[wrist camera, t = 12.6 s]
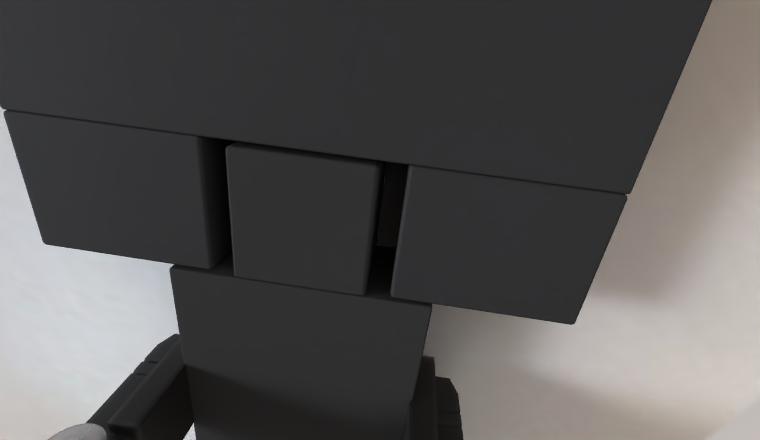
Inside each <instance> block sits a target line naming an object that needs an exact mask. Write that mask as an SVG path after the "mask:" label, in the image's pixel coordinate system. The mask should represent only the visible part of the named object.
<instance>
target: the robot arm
mask: <svg viewBox="0 0 760 440" xmlns="http://www.w3.org/2000/svg"><path fill="white" fill-rule="evenodd" d="M193 423H194V415H193V408H192V402H191V395H190V389H189V383H188V376H187V370H186V364H184V359H183V352H182V346H181V340H180V335H179V334H174V335H172V336H171V337H169V338H168V339H166V340H164V341H163V342H161V343H160V344H158V345H157V346H156V347H155V348H154V349H153V350H152V351H151V353H150V354H149V355H148V356H147V357H146V358H145V360H144V362H141V363H140V365H139V366H138V367H137V368H136V369H135V370H134V373H133V374H130V376H129V377H128V378H127V379H126V380H125V381H124V382H123V383H122V384H121V385H120V386H119V388H118V389H117V390H116V391H115V392H114V393H113V394H112V395H111V396H110V397H109V398H108V400H107V401H106V402H105V403H104V404H103V405H102V406H101V407H100V408H99V409H98V410H97V412H96V413H95V414H94V415H93V416H92V417H91V418H90V419H89V420H88V421H87V422H86V423H85V424H79V425H75V426H72V427H69V428H67V429H65V430H63V431H60V432H59V433H57V434H55V435H54V436H52V437H51V438H49V439H48V440H183V439H184V437H185V436H186V434H187V432H188V431H189V429H190V428H191V426H192V424H193ZM402 440H463V432H462V423H461V415H460V406H459V397H458V393H457V391H456V389H455V388H454V386H453V384H452V382H451V380H450V378H444V377H437V376H435V363H434V358H433V357H428V356H422V359H421V364H420V368H419V373H418V378H417V383H416V387H415V392H414V397H413V400H412V401H410V402H409V407H408V411H407V416H406V421H405V426H404V431H403V436H402Z"/></svg>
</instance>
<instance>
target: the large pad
mask: <svg viewBox="0 0 760 440" xmlns="http://www.w3.org/2000/svg"><path fill="white" fill-rule="evenodd" d="M711 2H712V0H0V106H1V107H2V108H3V109H6V111H4V117H5V120H6V123H7V127H8V130H9V133H10V136H11V140H12V143H13V146H14V149H15V153H16V156H17V159H18V162H19V166H20V169H21V172H22V175H23V179H24V182H25V185H26V188H27V192H28V195H29V198H30V201H31V205H32V208H33V211H34V214H35V217H36V221H37V224H38V227H39V230H40V234H41V237H42V240H43V242H44V243H45V244H47V245H53V246H60V247H66V248H73V249H80V250H86V251H93V252H99V253H106V254H112V255H119V256H125V257H132V258H138V259H145V260H151V261H158V262H164V263H171V264H177V265H184V266H191V267H197V268H204V269H212V268H213V267H214V266H215V265H216V264H217V263H218V262H219V261H220V260H221V259H222V258H223V257H224V256H225V255H226V254H227V253H228V252H229V251H230V250H231V249H232V236H231V222H230V207H229V193H228V179H227V165H226V147H227V146H229V145H231V144H234V143H236V142H238V141H240V142H248V143H255V144H262V145H270V146H277V147H284V148H292V149H299V150H306V151H314V152H321V153H328V154H336V155H343V156H350V157H358V158H365V159H372V160H380V161H387V162H394V163H402V164H408V169H407V175H406V182H405V189H404V196H403V202H402V209H401V216H400V223H399V229H398V236H397V243H396V251H395V259H394V267H393V275H392V283H391V291H390V293H391V296H392V297H394V298H400V299H407V300H413V301H420V302H427V303H433V304H440V305H446V306H453V307H459V308H466V309H472V310H479V311H485V312H492V313H498V314H505V315H511V316H518V317H524V318H531V319H538V320H544V321H551V322H557V323H564V324H570V325H572V324H574V323H575V322H576V319H577V317H578V314H579V312H580V310H581V307H582V305H583V303H584V300H585V298H586V296H587V293H588V291H589V288H590V286H591V284H592V281H593V279H594V277H595V274H596V272H597V270H598V267H599V265H600V262H601V260H602V258H603V255H604V253H605V251H606V248H607V246H608V244H609V241H610V239H611V236H612V234H613V232H614V229H615V227H616V225H617V222H618V220H619V217H620V215H621V213H622V210H623V208H624V206H625V203H626V201H627V195H625V194H630V193H631V191H632V189H633V186H634V184H635V182H636V179H637V177H638V174H639V172H640V170H641V167H642V165H643V163H644V160H645V158H646V156H647V153H648V151H649V149H650V146H651V144H652V141H653V139H654V137H655V134H656V132H657V130H658V127H659V125H660V123H661V120H662V118H663V116H664V113H665V111H666V108H667V106H668V104H669V101H670V99H671V97H672V94H673V92H674V90H675V87H676V85H677V82H678V80H679V78H680V75H681V73H682V71H683V68H684V66H685V64H686V61H687V59H688V57H689V54H690V52H691V49H692V47H693V45H694V42H695V40H696V38H697V35H698V33H699V31H700V28H701V26H702V24H703V21H704V19H705V16H706V14H707V12H708V9H709V7H710V5H711Z"/></svg>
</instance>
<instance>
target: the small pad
mask: <svg viewBox="0 0 760 440" xmlns="http://www.w3.org/2000/svg"><path fill="white" fill-rule="evenodd" d="M386 162H387V161H380V160H372V159H365V158H358V157H350V156H343V155H336V154H328V153H321V152H314V151H306V150H299V149H292V148H284V147H277V146H270V145H262V144H255V143H248V142H240V141H238V142H236V143H234V144H231V145H229V146H227V147H226V165H227V179H228V193H229V207H230V222H231V236H232V249H231V250H230V251H229V252H228V253H227V254H226V255H225V256H224V257H223V258H222V259H221V260H220V261H219V262H218V263H217V264H216V265H215V266H214V267H213V268H212V269H204V268H197V267H191V266H184V265H177V264H174V265H173V266H172V267H171V268H170V277H171V283H172V289H173V296H174V302H175V308H176V314H177V321H178V327H179V333H180V340H181V346H182V352H183V359H184V364H186V370H187V376H188V383H189V389H190V395H191V402H192V408H193V415H194V428H195V434H196V440H402V436H403V431H404V426H405V421H406V416H407V411H408V407H409V402H410V401H412V400H413V397H414V392H415V387H416V383H417V378H418V373H419V368H420V364H421V359H422V354H423V350H424V345H425V340H426V335H427V331H428V326H429V321H430V316H431V312H432V303H427V302H420V301H413V300H407V299H400V298H394V297H392V296H391V293H390V291H391V283H392V275H393V267H394V259H395V251H396V248H389V247H382V246H376V245H377V237H378V229H379V221H380V212H381V204H382V195H383V187H384V179H385V170H386Z"/></svg>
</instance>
